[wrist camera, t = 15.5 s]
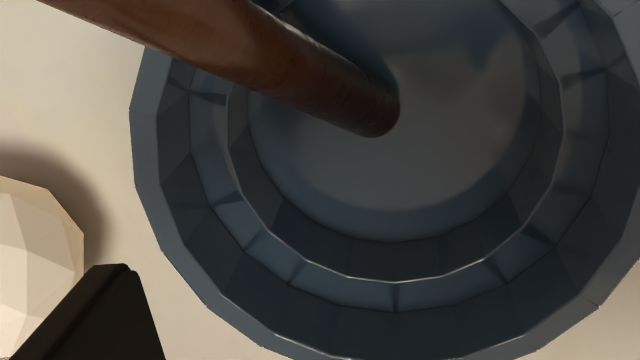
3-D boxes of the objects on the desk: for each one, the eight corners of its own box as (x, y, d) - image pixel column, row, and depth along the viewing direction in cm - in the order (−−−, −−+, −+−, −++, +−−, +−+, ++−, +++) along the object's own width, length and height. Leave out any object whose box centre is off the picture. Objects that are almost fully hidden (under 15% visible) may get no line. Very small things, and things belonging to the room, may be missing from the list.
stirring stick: (421, 102, 19) (-186, -270, 6) (391, 153, 20) (-238, -105, 7) (378, 80, 20) (-208, -273, 8) (352, 128, 21) (-251, -131, 8)
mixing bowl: (692, 1, 18) (819, 35, 13) (472, 325, 24) (494, 441, 19) (272, -189, 17) (216, -240, 12) (156, 195, 24) (85, 277, 18)
